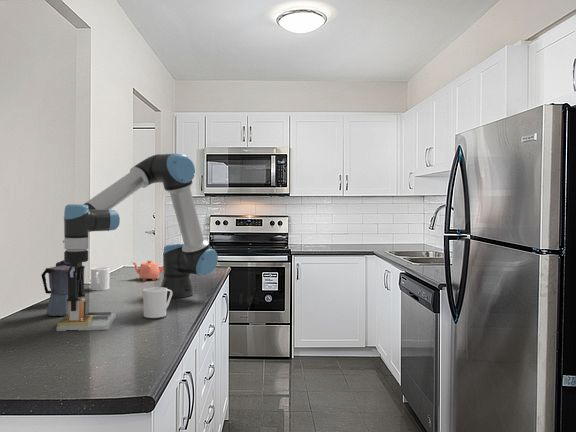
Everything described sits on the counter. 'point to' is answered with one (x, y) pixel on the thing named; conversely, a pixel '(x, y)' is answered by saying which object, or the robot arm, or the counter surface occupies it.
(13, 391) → the counter surface
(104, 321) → the panel
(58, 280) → the moka pot
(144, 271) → the teapot
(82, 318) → the cap
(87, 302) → the breaker slider
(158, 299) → the mug
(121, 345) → the counter surface
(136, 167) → the robot arm
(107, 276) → the mug
